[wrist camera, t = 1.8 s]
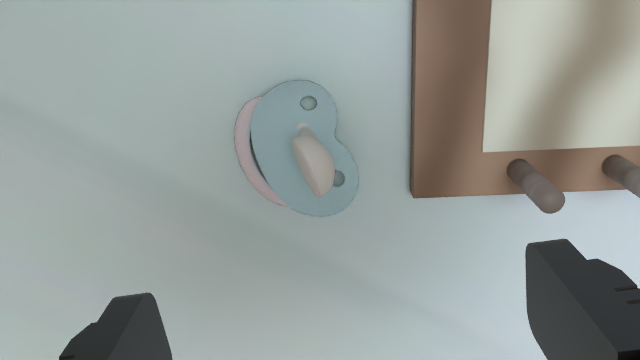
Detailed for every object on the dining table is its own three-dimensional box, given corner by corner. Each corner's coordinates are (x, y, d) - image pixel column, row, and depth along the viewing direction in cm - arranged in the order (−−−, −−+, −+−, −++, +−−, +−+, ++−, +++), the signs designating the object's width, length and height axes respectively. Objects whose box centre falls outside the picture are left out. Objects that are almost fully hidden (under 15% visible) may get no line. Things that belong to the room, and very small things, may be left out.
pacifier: (267, 218, 31) (366, 186, 30) (251, 274, 25) (373, 237, 25) (216, 100, 29) (322, 62, 28) (185, 133, 23) (318, 86, 22)
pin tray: (410, 189, 30) (428, 234, 25) (413, -87, 26) (438, -104, 20) (698, 178, 30) (778, 219, 25) (757, -104, 25) (872, -126, 20)
